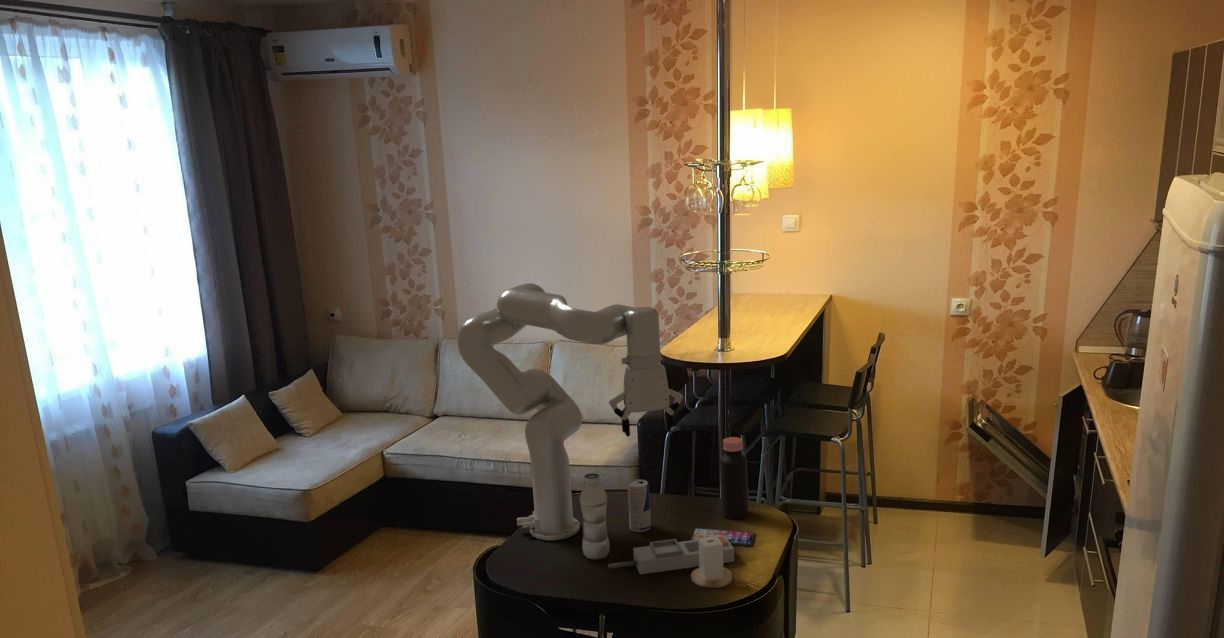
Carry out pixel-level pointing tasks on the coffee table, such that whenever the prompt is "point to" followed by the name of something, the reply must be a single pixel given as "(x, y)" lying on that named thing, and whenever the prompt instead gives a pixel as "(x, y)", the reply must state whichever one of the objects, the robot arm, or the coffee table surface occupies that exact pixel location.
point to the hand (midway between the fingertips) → (647, 432)
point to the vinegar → (733, 480)
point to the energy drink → (639, 505)
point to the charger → (711, 558)
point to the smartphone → (733, 536)
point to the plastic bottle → (594, 518)
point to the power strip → (671, 555)
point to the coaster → (716, 583)
